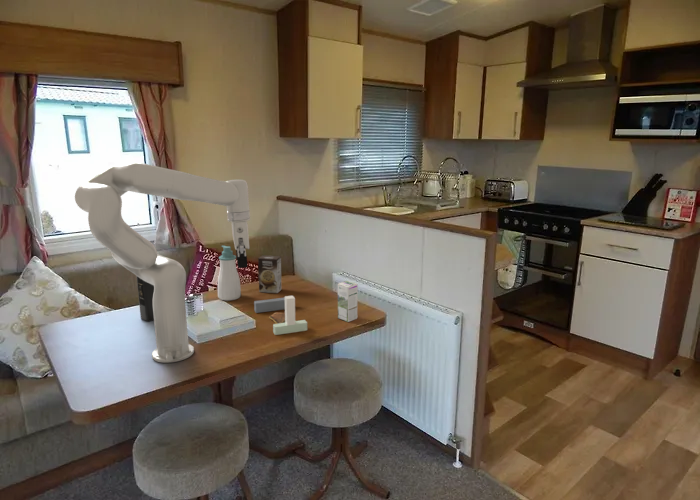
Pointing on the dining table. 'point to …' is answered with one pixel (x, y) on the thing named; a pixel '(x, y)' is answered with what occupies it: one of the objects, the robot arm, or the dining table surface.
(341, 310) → the syrup box
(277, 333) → the green white t block
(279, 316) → the shard
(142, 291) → the wine bottle
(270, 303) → the rail
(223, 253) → the soap bottle
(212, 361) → the dining table surface
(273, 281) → the coffee box
